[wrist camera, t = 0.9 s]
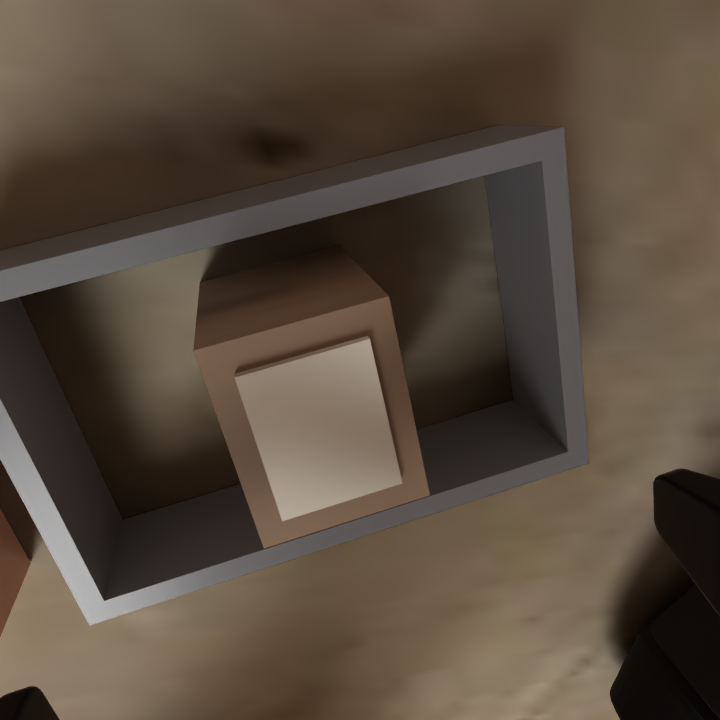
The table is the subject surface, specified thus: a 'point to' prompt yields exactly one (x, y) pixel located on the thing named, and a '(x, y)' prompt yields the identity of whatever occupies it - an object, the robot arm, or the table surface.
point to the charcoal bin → (229, 506)
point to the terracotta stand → (10, 569)
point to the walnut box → (309, 392)
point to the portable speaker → (673, 665)
